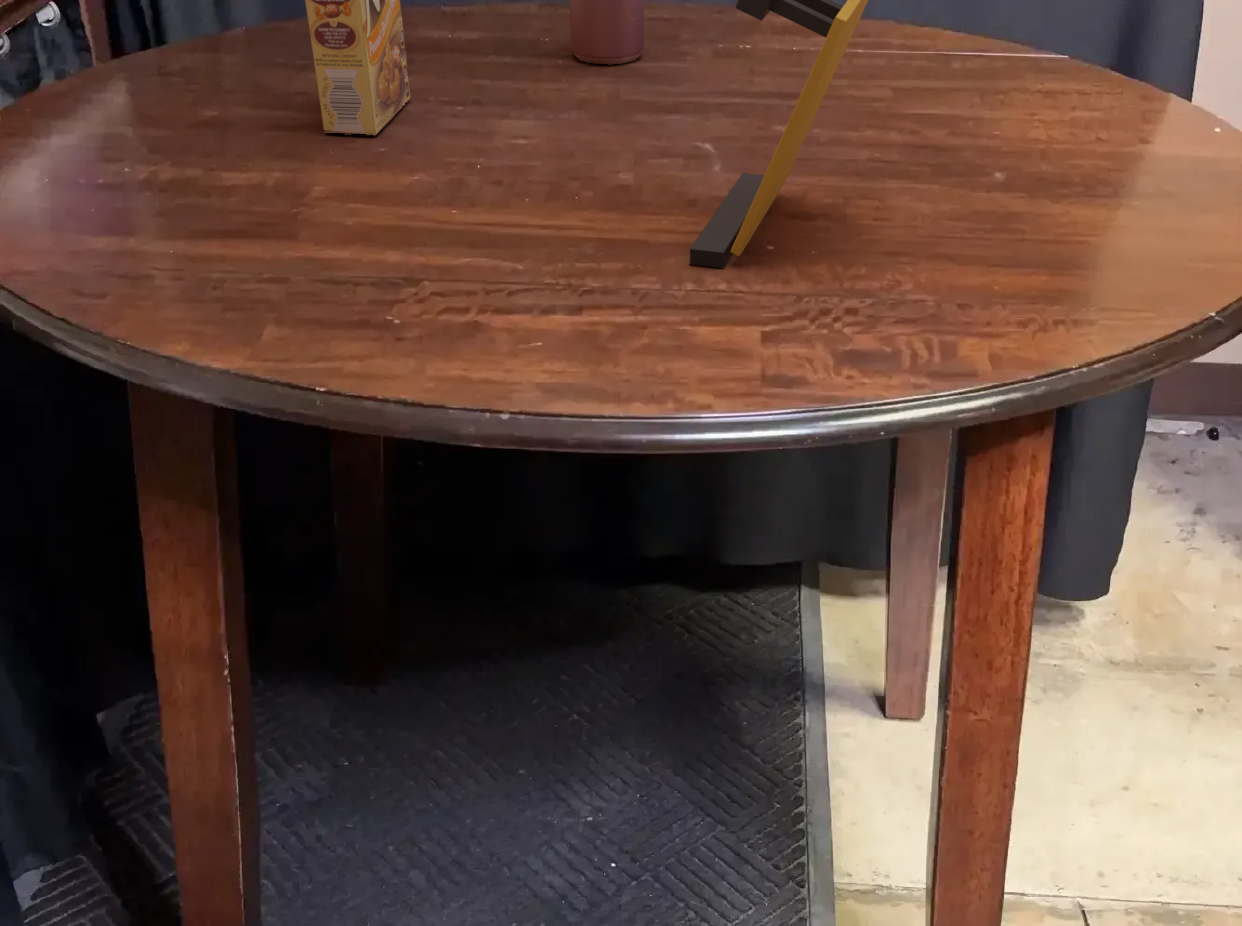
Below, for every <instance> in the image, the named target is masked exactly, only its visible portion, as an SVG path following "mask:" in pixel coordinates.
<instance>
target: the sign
mask: <svg viewBox="0 0 1242 926" xmlns="http://www.w3.org/2000/svg"><path fill="white" fill-rule="evenodd" d="M868 2H869V0H846V2H845V3H844V4H843V5H842V4H840V3H837V2H836V1H834V0H737V2H736V5H735V9H736V10H738V11H741V12H743V13H745V14H747V15H749V16H751V17H753V18H755V19H757V20H759V21H763V20H764V19H765V18H766V17H767V15H768V14H769V13H770V12H773V13H774V14H777V15H779V16H781V17H783V18H784V19H787V20H789V21H791V22H793V23H795V24H797V25H799V26H801V27H803V28H805V29H807V30H809V31H811V32H813V33H816V34H817V35H820V36H821V37H824V38H825V39H824V42H823V44H822V46H821V48H820V51H819V53H818V55H817V57H816V60H815V62H814V64H813V66H812V68H811V71H810V73H809V75H808V77H807V80H806V82H805V84H804V86H803V88H802V91H801V93H800V95H799V97H798V99H797V102H796V104H795V107H794V108H793V111H792V113H791V115H790V118H789V120H788V122H787V124H786V126H785V129H784V131H783V133H782V135H781V138H780V140H779V142H778V144H777V147H776V149H775V151H774V153H773V156H772V158H771V160H770V161H769V164H768V166H767V168H766V171H765V173H764V174H763V175H764V178H763V180H762V182H761V184H760V186H759V189H758V191H757V193H756V195H755V198H754V200H753V202H752V204H751V207H750V209H749V211H748V213H747V215H746V218H745V220H744V222H743V224H742V227H741V229H740V231H739V233H738V236H737V238H736V240H735V242H734V244H733V247H732V249H731V253H732V255H734V256H737V257H741V256H742V253H743V251H744V250H745V248H746V247H747V245H748V244H749V242H750V240H751V239H752V237H753V235H754V234H755V232H756V230H757V229H758V227H759V225H760V224H761V222H762V221H763V219H764V217H765V216H766V214H767V212H768V211H769V210H770V208H771V206H772V205H773V203H774V201H775V199H776V198H777V196H778V195H779V193H780V191H781V189H782V188H783V187H784V184H785V182H786V180H787V178H788V176H789V174H790V171H791V169H792V167H793V165H794V163H795V160H796V158H797V157H798V155H799V152H800V150H801V148H802V146H803V143H804V141H805V139H806V137H807V134H808V132H809V130H810V128H811V126H812V124H813V121H814V119H815V118H816V115H817V112H818V111H819V109H820V106H821V104H822V102H823V100H824V99H825V95H826V93H827V91H828V89H829V87H830V85H831V82H832V80H833V78H834V76H835V73H836V71H837V69H838V67H839V65H840V63H841V61H842V58H843V57H844V54H845V52H846V49H847V48H848V45H849V43H850V41H851V39H852V36H853V35H854V32H855V30H856V28H857V26H858V23H859V22H860V20H861V17H862V15H863V13H864V11H865V8H866V6H867V4H868Z"/></svg>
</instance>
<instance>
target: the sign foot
mask: <svg viewBox="0 0 1242 926" xmlns="http://www.w3.org/2000/svg"><path fill="white" fill-rule="evenodd" d="M764 175H765V174H759V173H749V172H742V173H741V174H740V176H739V177H738V179H737V180H736V182H734V185H733V186H732V188H731V189H730V190H729V192H728V193H727V195H726V196H725V197H724V199H723V200H722V202H721V203H720V205H719V206H718V208H717V209H716V211H715V212H714V214H713V215H712V216H711V218H710V219H709V221H708V222H707V224H706V225H705V227H704V228H703V229H702V231H701V232H700V234H699V235H698V237H697V238H696V239H695V241H694V243H693V244H692V245H691V247H690V248H689V264H690V265H691V266H700V267H706V268H707V267H709V268H716V269H717V268H718V269H724V268H725V266H726V264H727V263H728V261H729V260H730V258H731V256H732V255H733V253H731V249H732V247H733V244H734V242H735V240H736V238H737V236H738V233H739V231H740V229H741V227H742V224H743V222H744V220H745V218H746V215H747V213H748V211H749V209H750V207H751V204H752V202H753V200H754V198H755V195H756V193H757V191H758V189H759V186H760V184H761V182H762V180H763V178H764Z"/></svg>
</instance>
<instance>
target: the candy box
mask: <svg viewBox="0 0 1242 926" xmlns="http://www.w3.org/2000/svg"><path fill="white" fill-rule="evenodd" d="M304 1H305V8H306V16H307V22H308V29H309V35H310V45H311V50H312V55H313V56H312V57H313V62H314V70H315V77H316V85H317V90H318V91H317V92H318V98H319V105H320V112H321V119H322V126H323V131H324V130H331V131H339V132H341V131H342V132H347V133H360V134H366V135H365V136H370V135H373V137H375V136H376V135H377V134H378V133H380V131H381V130H382V129H383V128H384V127H385V126H386V125H387V124H388V123H389V122H390V121H391V120H392V119H393V118H394V117H395V116H396V114H398V112H399V111H400V110H401V109H402V108H403V107H404V106H406V104H405V103H406V102H407V101H408V100H409V99H410V100H411V92H410V91H411V90H410V82H409V72H408V64H407V53H406V45H405V43H406V42H405V34H404V26H403V25H404V23H403V15H402V8H401V7H402V6H401V0H304ZM402 106H403V107H402Z"/></svg>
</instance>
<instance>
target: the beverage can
mask: <svg viewBox="0 0 1242 926" xmlns="http://www.w3.org/2000/svg"><path fill="white" fill-rule="evenodd" d="M569 24H570V27H569V28H570V50H571V52H572V53H573V55H574V56H576V57H577V58H578V59H581V60H582V61H585V62H589V63H593V64H592V65H596V64H608V65H607V66H614V65H613V64H618V65H623V63H625V64H628V63H627V62H629V63H632V62H634V61H636V60H638V59H639V58H640V56H641V55H642V53H643V51H644V48H645V0H569ZM576 57H575V58H576ZM577 58H576V59H577ZM637 58H638V59H637ZM578 59H577V60H578ZM582 61H581V62H582ZM631 61H632V62H631ZM585 62H584V63H585ZM589 63H588V64H589Z"/></svg>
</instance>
